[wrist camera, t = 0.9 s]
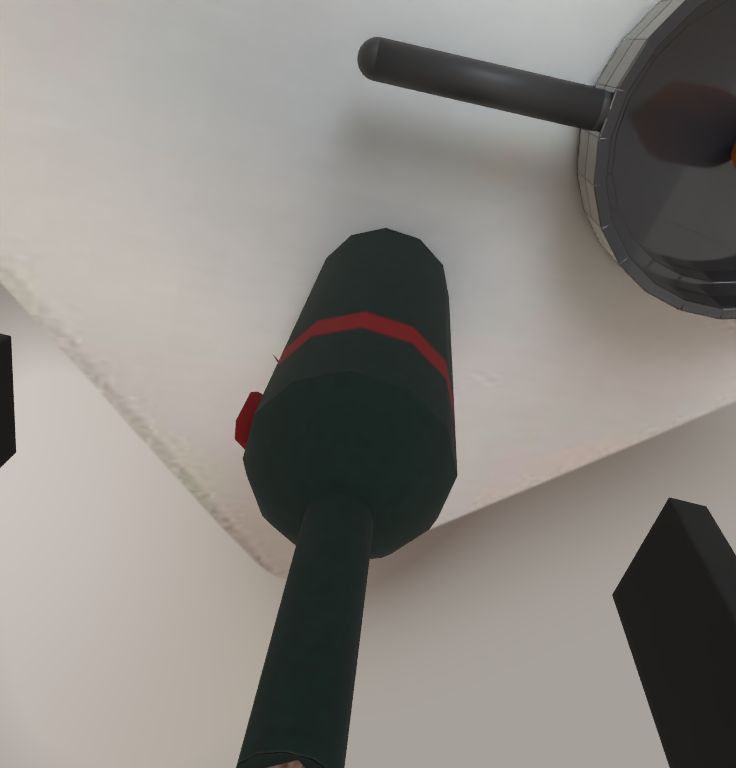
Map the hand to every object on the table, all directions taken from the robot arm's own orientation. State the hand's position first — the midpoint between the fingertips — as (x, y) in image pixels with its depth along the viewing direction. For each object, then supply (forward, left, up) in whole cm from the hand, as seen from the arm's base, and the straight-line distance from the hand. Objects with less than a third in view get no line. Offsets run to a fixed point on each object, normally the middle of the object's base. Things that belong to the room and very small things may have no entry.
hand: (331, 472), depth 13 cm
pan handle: (-7, +3, -23) cm, 24 cm away
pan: (-7, +17, -26) cm, 31 cm away
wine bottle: (+6, 0, -26) cm, 27 cm away
